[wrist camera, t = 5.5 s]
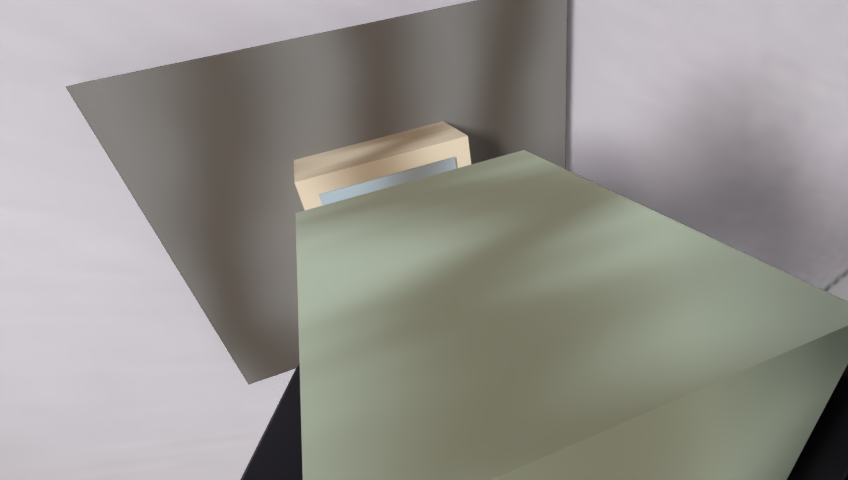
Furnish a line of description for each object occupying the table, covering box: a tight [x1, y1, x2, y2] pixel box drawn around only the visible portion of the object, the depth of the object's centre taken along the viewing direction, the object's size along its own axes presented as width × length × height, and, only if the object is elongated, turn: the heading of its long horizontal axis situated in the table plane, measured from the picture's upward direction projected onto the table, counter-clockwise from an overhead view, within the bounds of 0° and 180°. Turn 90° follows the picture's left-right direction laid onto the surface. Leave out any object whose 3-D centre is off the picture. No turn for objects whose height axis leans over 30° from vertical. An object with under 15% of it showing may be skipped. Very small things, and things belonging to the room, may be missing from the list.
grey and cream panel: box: [66, 0, 567, 384], centre depth 19 cm, size 20×16×4 cm
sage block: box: [295, 150, 848, 480], centre depth 7 cm, size 5×5×6 cm
